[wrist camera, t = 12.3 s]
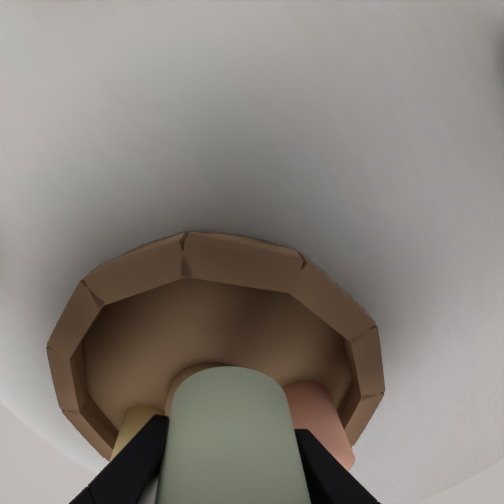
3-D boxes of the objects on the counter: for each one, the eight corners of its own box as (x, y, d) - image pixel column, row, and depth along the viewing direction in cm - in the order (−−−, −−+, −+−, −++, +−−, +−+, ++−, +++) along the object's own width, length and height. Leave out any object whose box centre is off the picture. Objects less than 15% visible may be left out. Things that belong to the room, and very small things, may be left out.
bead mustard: (181, 411, 16) (172, 479, 11) (179, 445, 17) (172, 506, 12) (122, 399, 16) (100, 463, 11) (126, 435, 17) (110, 493, 12)
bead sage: (300, 372, 8) (348, 523, 4) (272, 445, 9) (291, 566, 5) (175, 357, 8) (143, 519, 3) (170, 435, 9) (153, 561, 4)
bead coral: (337, 381, 16) (366, 445, 11) (318, 423, 17) (338, 484, 12) (277, 378, 16) (292, 449, 11) (263, 421, 17) (272, 488, 12)
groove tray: (408, 265, 15) (433, 282, 13) (312, 471, 20) (319, 494, 18) (63, 206, 13) (36, 216, 11) (87, 443, 18) (79, 465, 16)
